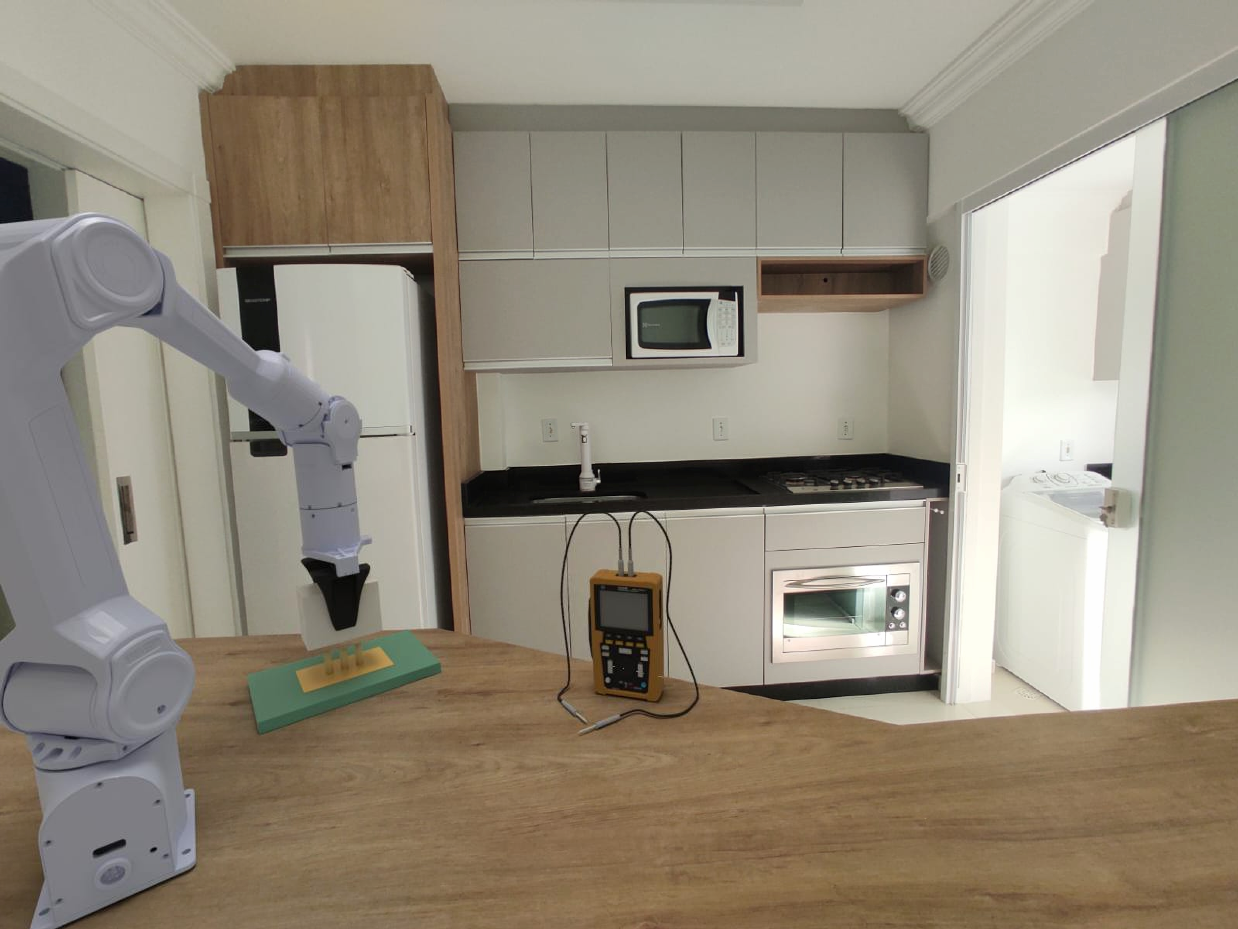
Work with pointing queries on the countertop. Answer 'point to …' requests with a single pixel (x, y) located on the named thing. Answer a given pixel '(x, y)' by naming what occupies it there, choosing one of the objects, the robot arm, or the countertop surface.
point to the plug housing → (318, 622)
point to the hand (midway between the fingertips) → (340, 621)
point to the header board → (337, 678)
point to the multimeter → (626, 631)
